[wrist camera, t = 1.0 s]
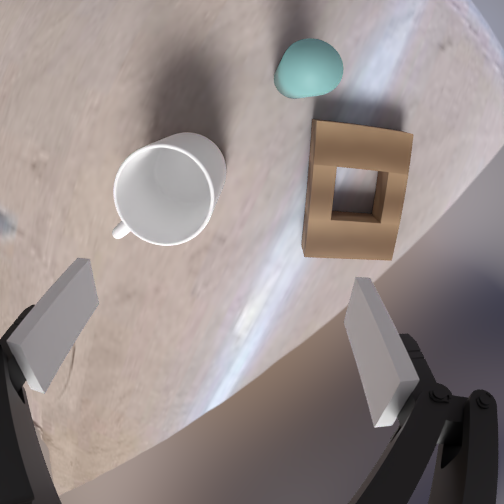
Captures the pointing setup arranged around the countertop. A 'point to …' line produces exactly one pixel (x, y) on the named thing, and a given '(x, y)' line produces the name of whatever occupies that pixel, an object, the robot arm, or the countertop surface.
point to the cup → (169, 189)
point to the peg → (308, 69)
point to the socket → (386, 195)
